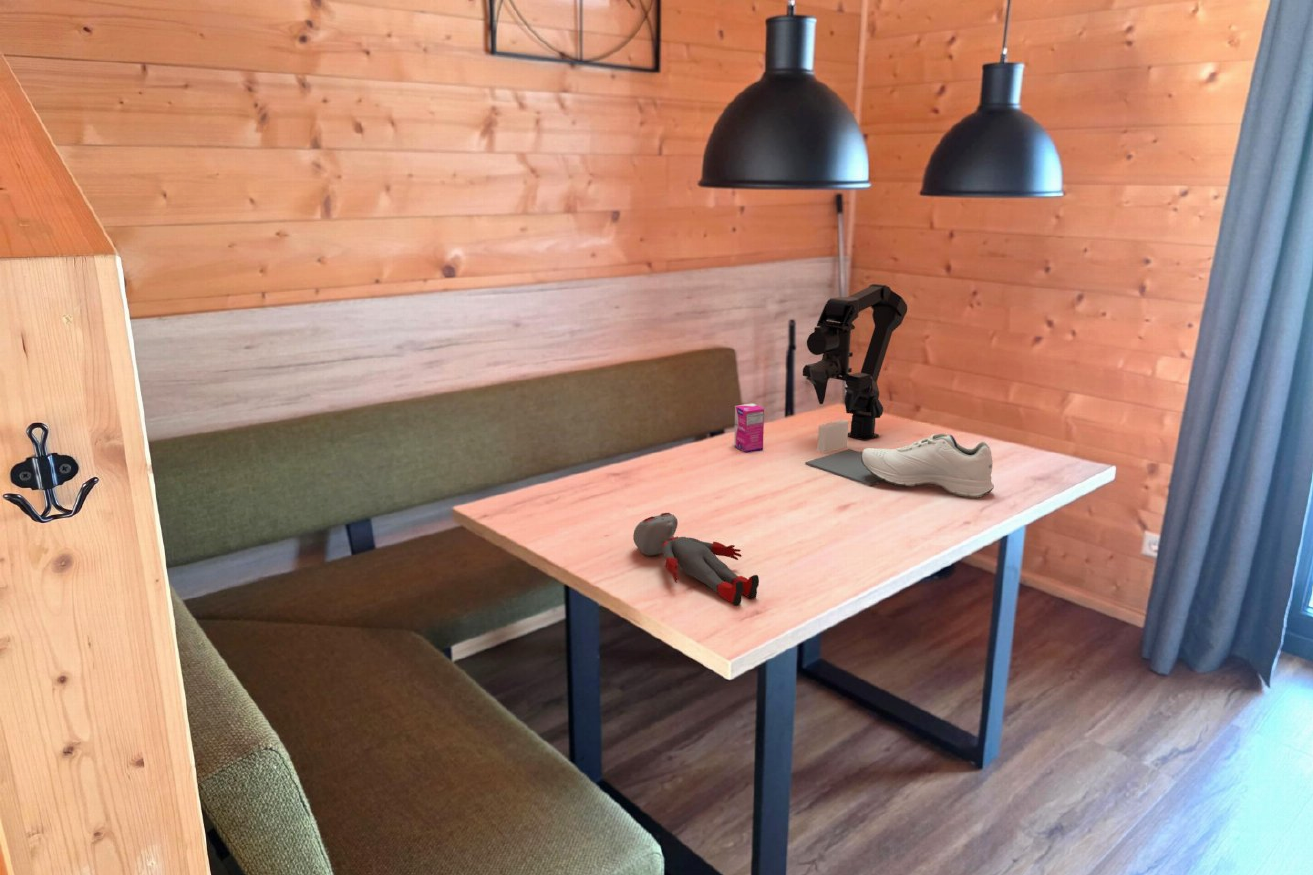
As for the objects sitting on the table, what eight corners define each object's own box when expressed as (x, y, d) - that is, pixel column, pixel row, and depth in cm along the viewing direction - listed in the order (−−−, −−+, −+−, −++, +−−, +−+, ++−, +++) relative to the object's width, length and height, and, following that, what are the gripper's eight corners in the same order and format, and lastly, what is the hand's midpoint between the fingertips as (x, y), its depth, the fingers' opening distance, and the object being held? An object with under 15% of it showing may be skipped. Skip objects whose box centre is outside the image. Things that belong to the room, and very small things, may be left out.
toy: (717, 593, 153) (612, 510, 173) (709, 638, 157) (607, 552, 177) (783, 567, 162) (676, 492, 182) (774, 611, 166) (670, 532, 187)
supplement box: (733, 447, 242) (734, 405, 239) (752, 444, 244) (754, 402, 241) (744, 453, 237) (745, 410, 234) (764, 450, 239) (765, 408, 236)
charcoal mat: (849, 450, 239) (849, 448, 239) (913, 470, 224) (913, 468, 224) (805, 464, 229) (805, 462, 228) (869, 486, 214) (870, 483, 214)
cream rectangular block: (839, 444, 244) (840, 419, 242) (846, 446, 243) (848, 421, 240) (816, 451, 239) (818, 425, 237) (824, 453, 237) (825, 427, 235)
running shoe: (861, 468, 223) (866, 417, 219) (992, 484, 215) (999, 431, 210) (856, 484, 213) (861, 430, 209) (992, 502, 204) (1000, 446, 200)
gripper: (789, 347, 235) (786, 405, 239) (846, 359, 221) (842, 421, 226) (818, 341, 241) (815, 398, 246) (875, 353, 228) (871, 413, 232)
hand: (834, 407), depth 237 cm, fingers open, 9 cm apart
